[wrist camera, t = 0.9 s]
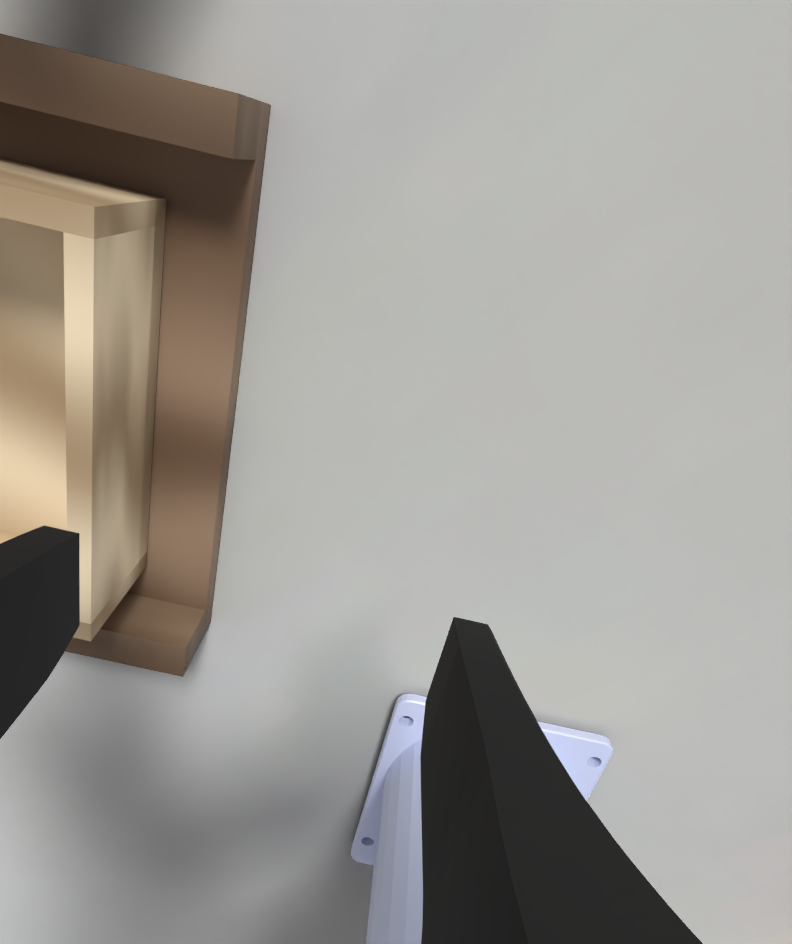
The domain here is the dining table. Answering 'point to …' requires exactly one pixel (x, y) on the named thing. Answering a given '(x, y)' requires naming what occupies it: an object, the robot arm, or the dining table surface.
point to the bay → (182, 299)
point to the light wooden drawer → (79, 370)
